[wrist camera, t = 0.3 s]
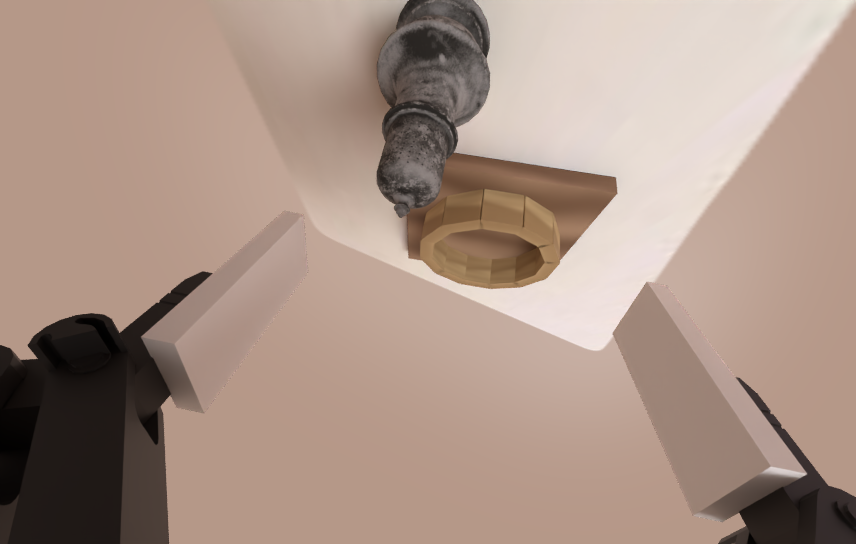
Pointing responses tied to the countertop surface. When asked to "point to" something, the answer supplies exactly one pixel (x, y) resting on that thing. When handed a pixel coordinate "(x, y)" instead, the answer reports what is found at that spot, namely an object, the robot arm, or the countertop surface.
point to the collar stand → (504, 220)
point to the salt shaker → (429, 94)
